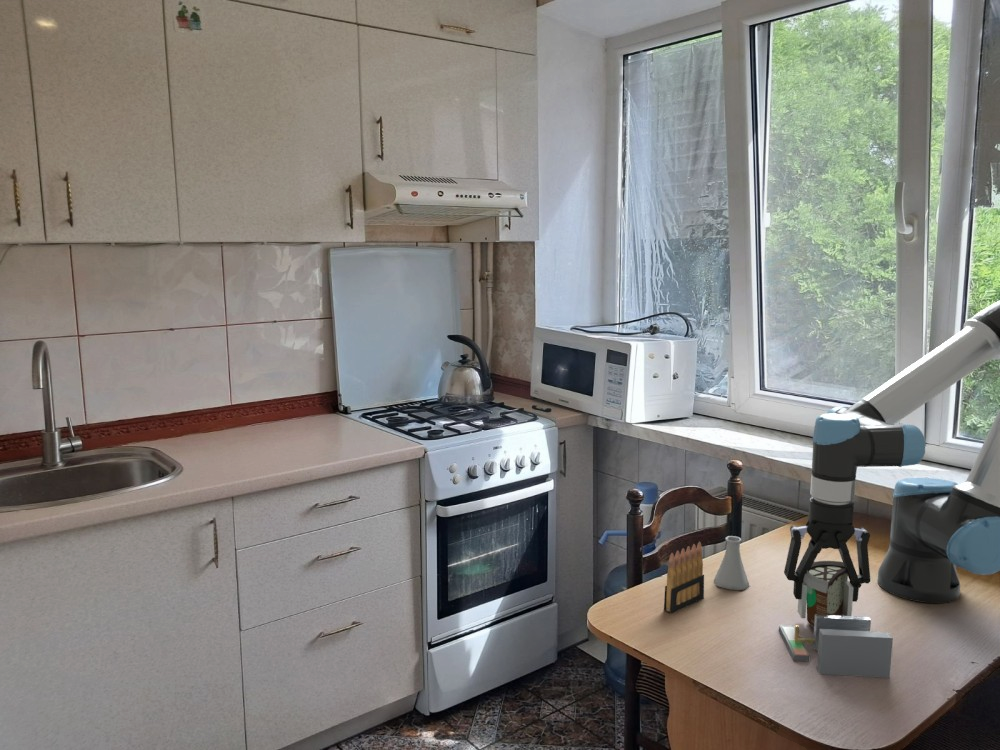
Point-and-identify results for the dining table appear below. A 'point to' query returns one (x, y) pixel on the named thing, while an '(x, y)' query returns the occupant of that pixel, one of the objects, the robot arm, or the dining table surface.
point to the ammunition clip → (684, 579)
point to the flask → (732, 567)
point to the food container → (825, 589)
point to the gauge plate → (833, 626)
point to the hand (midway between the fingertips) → (824, 615)
